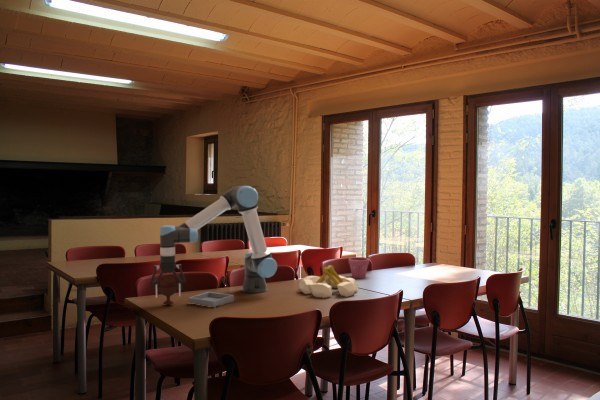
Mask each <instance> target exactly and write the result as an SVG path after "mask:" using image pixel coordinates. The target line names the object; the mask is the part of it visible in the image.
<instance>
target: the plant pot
mask: <svg viewBox="0 0 600 400" xmlns="http://www.w3.org/2000/svg"><path fill="white" fill-rule="evenodd" d="M369 264H370V259H369V258H367V257H350V258H348V265H349V268H350V272H351V273H350V274H351V278H353V279H364V278H366V276H367V275H366V274H367V270H368V266H369Z"/></svg>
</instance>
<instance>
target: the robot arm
mask: <svg viewBox="0 0 600 400" xmlns="http://www.w3.org/2000/svg"><path fill="white" fill-rule="evenodd" d="M258 201H259V193H258V191H257V190H256V188H254V187H252V186H250V185H236V186H233V187H231V188H229V190H228V191H226V192H225V193H223V194H222V195H220V197H219V199H218V200H216V201H214V202H213V203H211V204H210V205H208V206H207V207H205V208H204V209H203V210H201V211H200V212H198V213H196V214H195V215H193V216H192V217H191V218H188V220H187V219H186V221H185V222H183V223H181V224H180V225H176V226H175V225H171V224H170V225H169V224H168V225H162V226H160V230H159V240H160V241H159V243H160V249H159V253H160V261H159V262H160V264H159V265H156V264H155V265H154V266H153V268H154V269H153V272H152V275H151V277H150V280H149V285H152V286H153V287H152V288H153V289H152V290H153V292H155V299H157V298H158V288H157V286H158V284H157V283H159V281H160V280H161V278H162V276H163V274H171V273H172V274H173V275H174V276H175V278H176V279H177V280H178V282H179V283H178V285H179V288H178V297H181V296H182V295H181V293H182V292H181V291H183V289H184V286H183V284H185V283H186V282H187V279H186V277H185V274H184V271H183V270H182V269H183V268H182V264H181V263H179V264H176V244H185V243H186V244H188V243H189V244H191V243H192V244H193V243H196V242H198V240H199V239H198V238H199V234H198V233H199V232H198V230H200V229H201V228H202V227H204V226H205V225H207V224H208V223H210V222H212V221H213V220H214V219H215V218H217V217H219V216H220V215H222V214H223V213H225V212H226V211H230V210H232V209H234V208H237V211H238V212H237V213H239V214H241V216H242V220H243V223H244V227H245V230H246V234H247V238H248V241H249V245H250V248H251V251H252V252H247V253H245V254H244V279H243V283H242V285H241V291H242V292H244V293H251V294H255V293H256V294H259V293H265V292H267V291H268V285H267V283H266V278H267V279H268V278H271V277H273V276H274V275H275V274H276V272H277V269H278V262H277V261H276V260H275V259H274V258H273V254H272V252H271V250H269V249H267V248H268V247H267V244H266V241H265V237H264V233H263V229H262V225H261V222H260V217H259V215H258V211H257V210H258V208H259V205H258ZM176 268H177V269H178V270H179V273H180V276H181V277H182V279H181V277H180V276H179V274H178V273H177V272H176V271H175V269H176ZM159 269H160V270H161V271H160V272H159V274H158V275H157V277H156V279H155V276H156V274H157V271H158V270H159Z"/></svg>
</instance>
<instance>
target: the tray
mask: <svg viewBox="0 0 600 400" xmlns="http://www.w3.org/2000/svg"><path fill="white" fill-rule="evenodd" d="M187 299H188V302H190V303H195V304H200V305H205V306H211V307H215V306H219V305H222V304H225V305H227V304H226V303H228V304H230V303H229V302H231V303H233V301H234V300H235V299H234V294H228V293H220V292H213V291H206V292H203V293H200V294H196V295H193V296H190V297H188V298H187ZM222 306H223V305H222ZM219 307H220V306H219Z"/></svg>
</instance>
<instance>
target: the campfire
mask: <svg viewBox="0 0 600 400" xmlns="http://www.w3.org/2000/svg"><path fill="white" fill-rule="evenodd" d="M322 271H323V272H324V273H323V274H322V275H321V276H317V275H308V276H305V277H304V278H302V279H300V281H299V285H298V287H299V289H300V291H301V292H302V293H303V294H305V295H312V294H313V296H314V297H315V298H321V297H322V299H327V298H330V297H332V296H333V291H332V290H333V289H337V290H338V293H339V294H340V296H341V297H346V298H347V297H352V296H354V294H355V293H357V292H358V286H359V284H358V283H357V281H356V278H354V277H346V276H343V275H340V274H338V273H337V272H336V271H335V266H334V265H333V264H328V265H327V266H325V267H324V268H323V269H322ZM324 281H325V282H324Z"/></svg>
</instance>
